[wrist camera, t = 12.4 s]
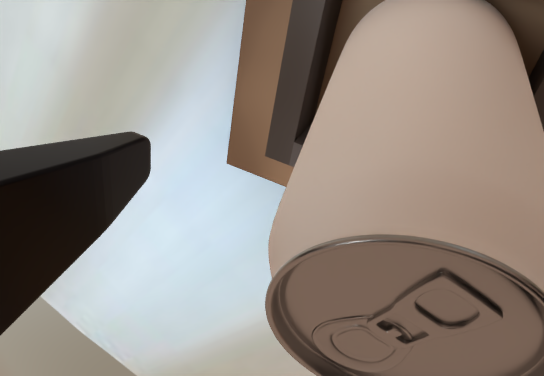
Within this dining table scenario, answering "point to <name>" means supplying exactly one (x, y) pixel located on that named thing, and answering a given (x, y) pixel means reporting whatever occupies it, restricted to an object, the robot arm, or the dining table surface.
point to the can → (416, 205)
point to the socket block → (321, 72)
